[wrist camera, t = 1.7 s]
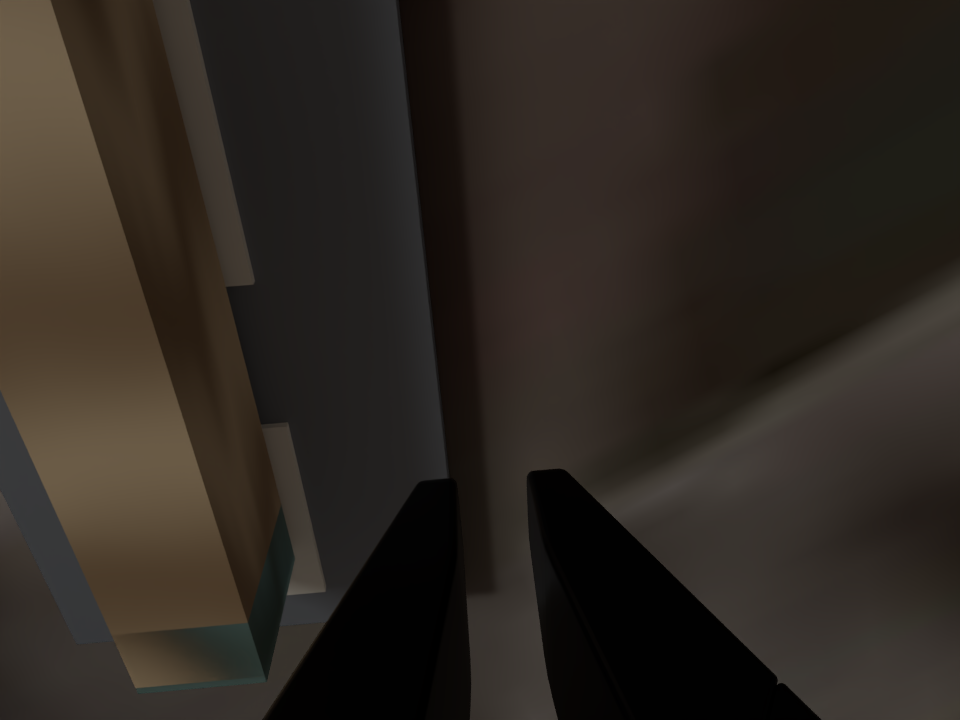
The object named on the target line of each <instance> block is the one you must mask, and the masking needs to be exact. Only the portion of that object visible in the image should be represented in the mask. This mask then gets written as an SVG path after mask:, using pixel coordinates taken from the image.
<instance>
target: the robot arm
mask: <svg viewBox="0 0 960 720" xmlns="http://www.w3.org/2000/svg"><path fill="white" fill-rule="evenodd" d="M527 503H528V527H529V541H530V550H531V558H532V565H533V573H534V581H535V588H536V596H537V604H538V611H539V619H540V627H541V635H542V642H543V650H544V657H545V663H546V669H547V675H548V680H549V684H550V689H551V693H552V698H553V702H554V706H555V709H556V713H557V717H558V720H821V719H820V718H819V717H818V716H817V715H816V714H815V713H814V712H813V711H812V710H811V709H810V708H809V707H808V706H807V705H806V704H805V703H804V702H803V701H802V700H801V699H800V698H799V697H798V696H797V695H795V694H794V693H793V692H792V691H791V690H790V689H789V688H788V687H787V686H786V685H785V684H783V683H780V684H778V685H777V682H778V679H777V677H776V675H775V674H774V673H773V672H772V671H771V670H770V669H769V668H767V667H766V666H765V665H764V664H763V663H762V662H761V661H760V660H759V659H758V658H757V657H756V656H755V655H754V654H753V653H752V652H751V651H750V650H749V649H748V648H747V647H746V646H745V645H744V644H743V643H742V642H741V641H740V640H739V639H738V638H737V637H736V636H735V635H734V634H733V633H732V632H731V631H730V630H729V629H728V628H727V627H726V626H725V625H724V624H722V623H721V622H720V621H719V620H718V619H717V618H716V617H715V616H714V615H713V614H712V613H711V612H710V611H709V610H708V609H707V608H706V607H705V606H704V605H703V604H702V603H701V602H700V601H699V600H698V599H697V598H696V597H695V596H694V595H693V594H692V593H691V592H690V591H689V590H688V589H687V588H686V587H685V586H684V585H683V584H682V583H681V582H680V581H678V580H677V579H676V578H675V577H674V576H673V575H672V574H671V573H670V572H669V571H668V570H667V569H666V568H665V567H664V566H663V565H662V564H661V563H660V562H659V561H658V560H657V559H656V558H655V557H654V556H653V555H652V554H651V553H650V552H649V551H648V550H647V549H646V548H645V547H644V546H643V545H642V544H641V543H640V542H639V541H638V540H637V539H636V538H635V537H633V536H632V535H631V534H630V533H629V532H628V531H627V530H626V529H625V528H624V527H623V526H622V525H621V524H620V523H619V522H618V521H617V520H616V519H615V518H614V517H613V516H612V515H611V514H610V513H609V512H608V511H607V510H606V509H605V508H604V507H603V506H602V505H601V504H600V503H599V502H598V501H597V500H596V499H595V498H594V497H593V496H592V495H591V494H589V493H588V492H587V491H586V490H585V489H584V488H583V487H582V486H581V485H580V484H579V483H578V482H577V481H576V480H575V479H574V478H573V477H572V476H571V475H570V474H569V473H568V472H567V471H565V470H563V469H549V470H537V471H531V472H530V473H529V474H528V476H527ZM470 706H471V663H470V646H469V631H468V615H467V600H466V584H465V568H464V553H463V540H462V530H461V520H460V510H459V500H458V490H457V484H456V481H455V480H454V479H452V478H444V479H432V480H423V481H420V482H419V483H417V485H416V486H415V487H414V489H413V491H412V492H411V494H410V495H409V497H408V498H407V500H406V501H405V503H404V504H403V506H402V507H401V509H400V510H399V512H398V513H397V515H396V516H395V518H394V520H393V521H392V523H391V524H390V526H389V527H388V529H387V530H386V532H385V533H384V535H383V536H382V538H381V539H380V541H379V542H378V544H377V545H376V547H375V549H374V550H373V552H372V553H371V555H370V556H369V558H368V559H367V561H366V562H365V564H364V565H363V567H362V568H361V570H360V571H359V573H358V574H357V576H356V578H355V579H354V581H353V582H352V584H351V585H350V587H349V588H348V590H347V591H346V593H345V594H344V596H343V597H342V599H341V600H340V602H339V603H338V605H337V606H336V608H335V610H334V611H333V613H332V614H331V616H330V617H329V619H328V620H327V622H326V623H325V625H324V626H323V628H322V629H321V631H320V632H319V634H318V635H317V637H316V639H315V640H314V642H313V643H312V645H311V646H310V648H309V649H308V651H307V652H306V654H305V655H304V657H303V658H302V660H301V661H300V663H299V664H298V666H297V667H296V669H295V671H294V672H293V674H292V675H291V677H290V678H289V680H288V681H287V683H286V684H285V686H284V687H283V689H282V690H281V692H280V693H279V695H278V696H277V698H276V700H275V701H274V703H273V704H272V706H271V707H270V709H269V710H268V712H267V713H266V715H265V716H264V718H263V719H262V720H470Z"/></svg>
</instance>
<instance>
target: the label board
mask: <svg viewBox="0 0 960 720" xmlns="http://www.w3.org/2000/svg"><path fill="white" fill-rule="evenodd" d="M153 4H154V8H155V12H156V16H157V20H158V24H159V28H160V32H161V35H162V39H163V43H164V47H165V51H166V55H167V59H168V63H169V67H170V71H171V75H172V79H173V82H174V86H175V90H176V94H177V98H178V102H179V106H180V110H181V114H182V118H183V122H184V125H185V129H186V133H187V137H188V141H189V145H190V149H191V153H192V157H193V161H194V165H195V169H196V172H197V176H198V180H199V184H200V188H201V192H202V196H203V200H204V204H205V208H206V212H207V216H208V219H209V223H210V227H211V231H212V235H213V239H214V243H215V247H216V251H217V255H218V259H219V262H220V266H221V270H222V274H223V278H224V282H225V286H226V290H227V294H228V298H229V302H230V306H231V309H232V313H233V317H234V321H235V325H236V329H237V333H238V337H239V341H240V345H241V349H242V353H243V356H244V360H245V364H246V368H247V372H248V376H249V380H250V384H251V388H252V392H253V396H254V399H255V403H256V407H257V411H258V415H259V419H260V423H261V427H262V431H263V435H264V439H265V443H266V446H267V450H268V454H269V458H270V462H271V466H272V470H273V474H274V478H275V482H276V486H277V489H278V493H279V497H280V501H281V505H282V509H283V513H284V517H285V521H286V525H287V529H288V533H289V536H290V540H291V544H292V548H293V552H294V556H295V562H294V566H293V570H292V575H291V579H290V583H289V588H288V592H287V596H286V601H285V605H284V609H283V614H282V618H281V622H280V626H288V625H299V624H311V623H322V622H327V620H328V619H329V617H330V616H331V614H332V613H333V611H334V610H335V608H336V606H337V605H338V603H339V602H340V600H341V599H342V597H343V596H344V594H345V593H346V591H347V590H348V588H349V587H350V585H351V584H352V582H353V581H354V579H355V578H356V576H357V574H358V573H359V571H360V570H361V568H362V567H363V565H364V564H365V562H366V561H367V559H368V558H369V556H370V555H371V553H372V552H373V550H374V549H375V547H376V545H377V544H378V542H379V541H380V539H381V538H382V536H383V535H384V533H385V532H386V530H387V529H388V527H389V526H390V524H391V523H392V521H393V520H394V518H395V516H396V515H397V513H398V512H399V510H400V509H401V507H402V506H403V504H404V503H405V501H406V500H407V498H408V497H409V495H410V494H411V492H412V491H413V489H414V487H415V486H416V485H417V483H419V482H420V481H423V480H432V479H444V478H450V476H449V467H448V458H447V448H446V439H445V430H444V420H443V411H442V402H441V392H440V383H439V373H438V364H437V355H436V345H435V336H434V327H433V317H432V308H431V299H430V289H429V280H428V270H427V261H426V252H425V242H424V233H423V224H422V214H421V205H420V196H419V186H418V177H417V168H416V158H415V149H414V139H413V130H412V121H411V111H410V102H409V93H408V83H407V74H406V65H405V55H404V46H403V36H402V27H401V18H400V8H399V0H153ZM0 490H1V492H2V494H3V496H4V498H5V500H6V502H7V504H8V506H9V508H10V510H11V512H12V514H13V516H14V518H15V520H16V522H17V524H18V526H19V528H20V530H21V532H22V534H23V536H24V538H25V540H26V542H27V545H28V547H29V549H30V551H31V553H32V555H33V557H34V559H35V561H36V563H37V565H38V567H39V569H40V571H41V573H42V575H43V577H44V579H45V581H46V583H47V585H48V587H49V589H50V591H51V593H52V595H53V597H54V599H55V601H56V603H57V605H58V607H59V609H60V611H61V613H62V616H63V618H64V620H65V622H66V624H67V626H68V628H69V630H70V632H71V634H72V636H73V638H74V640H75V642H76V644H87V643H98V642H109V641H114V639H113V637H112V635H111V633H110V631H109V628H108V626H107V624H106V622H105V620H104V617H103V615H102V613H101V611H100V609H99V606H98V604H97V602H96V600H95V598H94V595H93V593H92V591H91V589H90V587H89V584H88V582H87V580H86V578H85V576H84V573H83V571H82V569H81V567H80V565H79V562H78V560H77V558H76V556H75V554H74V551H73V549H72V547H71V545H70V543H69V540H68V538H67V536H66V534H65V532H64V529H63V527H62V525H61V523H60V521H59V518H58V516H57V514H56V512H55V510H54V507H53V505H52V503H51V501H50V499H49V496H48V494H47V492H46V490H45V488H44V485H43V483H42V481H41V479H40V477H39V474H38V472H37V470H36V468H35V466H34V463H33V461H32V459H31V457H30V455H29V452H28V450H27V448H26V446H25V444H24V441H23V439H22V437H21V435H20V433H19V430H18V428H17V426H16V424H15V422H14V419H13V417H12V415H11V413H10V411H9V408H8V406H7V404H6V402H5V400H4V397H3V395H2V393H1V391H0Z"/></svg>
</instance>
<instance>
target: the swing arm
mask: <svg viewBox="0 0 960 720" xmlns="http://www.w3.org/2000/svg"><path fill="white" fill-rule="evenodd" d="M0 391H1V393H2V395H3V397H4V400H5V402H6V404H7V406H8V408H9V411H10V413H11V415H12V417H13V419H14V422H15V424H16V426H17V428H18V430H19V433H20V435H21V437H22V439H23V441H24V444H25V446H26V448H27V450H28V452H29V455H30V457H31V459H32V461H33V463H34V466H35V468H36V470H37V472H38V474H39V477H40V479H41V481H42V483H43V485H44V488H45V490H46V492H47V494H48V496H49V499H50V501H51V503H52V505H53V507H54V510H55V512H56V514H57V516H58V518H59V521H60V523H61V525H62V527H63V529H64V532H65V534H66V536H67V538H68V540H69V543H70V545H71V547H72V549H73V551H74V554H75V556H76V558H77V560H78V562H79V565H80V567H81V569H82V571H83V573H84V576H85V578H86V580H87V582H88V584H89V587H90V589H91V591H92V593H93V595H94V598H95V600H96V602H97V604H98V606H99V609H100V611H101V613H102V615H103V617H104V620H105V622H106V624H107V626H108V628H109V631H110V633H111V635H112V637H113V639H114V642H115V644H116V646H117V648H118V650H119V653H120V655H121V657H122V659H123V661H124V664H125V666H126V668H127V670H128V672H129V675H130V677H131V679H132V681H133V683H134V686H135V688H136V690H137V692H138V694H141V693H152V692H163V691H174V690H185V689H196V688H207V687H218V686H229V685H240V684H251V683H262V682H267V679H268V674H269V670H270V666H271V661H272V657H273V653H274V648H275V644H276V640H277V635H278V631H279V627H280V622H281V618H282V614H283V609H284V605H285V601H286V596H287V592H288V588H289V583H290V579H291V575H292V570H293V566H294V562H295V556H294V552H293V548H292V544H291V540H290V536H289V533H288V529H287V525H286V521H285V517H284V513H283V509H282V505H281V501H280V497H279V493H278V489H277V486H276V482H275V478H274V474H273V470H272V466H271V462H270V458H269V454H268V450H267V446H266V443H265V439H264V435H263V431H262V427H261V423H260V419H259V415H258V411H257V407H256V403H255V399H254V396H253V392H252V388H251V384H250V380H249V376H248V372H247V368H246V364H245V360H244V356H243V353H242V349H241V345H240V341H239V337H238V333H237V329H236V325H235V321H234V317H233V313H232V309H231V306H230V302H229V298H228V294H227V290H226V286H225V282H224V278H223V274H222V270H221V266H220V262H219V259H218V255H217V251H216V247H215V243H214V239H213V235H212V231H211V227H210V223H209V219H208V216H207V212H206V208H205V204H204V200H203V196H202V192H201V188H200V184H199V180H198V176H197V172H196V169H195V165H194V161H193V157H192V153H191V149H190V145H189V141H188V137H187V133H186V129H185V125H184V122H183V118H182V114H181V110H180V106H179V102H178V98H177V94H176V90H175V86H174V82H173V79H172V75H171V71H170V67H169V63H168V59H167V55H166V51H165V47H164V43H163V39H162V35H161V32H160V28H159V24H158V20H157V16H156V12H155V8H154V4H153V0H0Z"/></svg>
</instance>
